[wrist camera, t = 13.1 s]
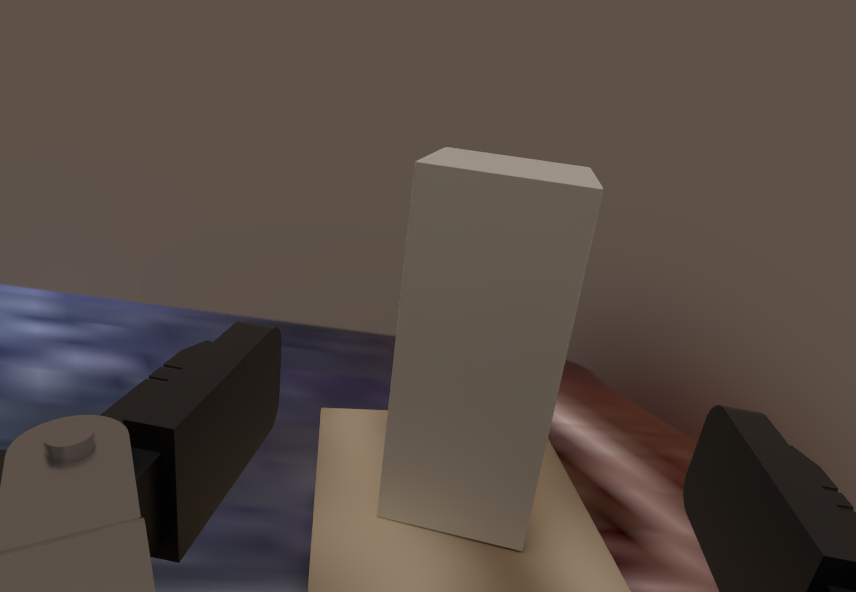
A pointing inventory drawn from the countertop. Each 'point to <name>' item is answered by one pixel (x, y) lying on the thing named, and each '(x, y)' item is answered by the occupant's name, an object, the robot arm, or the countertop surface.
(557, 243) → the cream block
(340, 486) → the beech block
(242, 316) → the countertop surface
